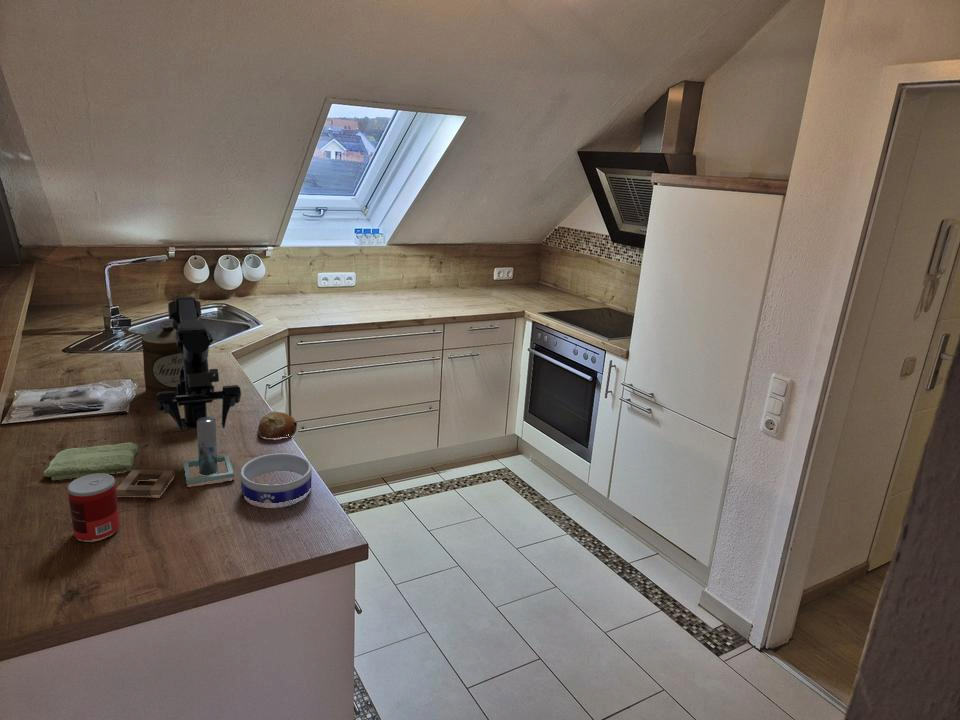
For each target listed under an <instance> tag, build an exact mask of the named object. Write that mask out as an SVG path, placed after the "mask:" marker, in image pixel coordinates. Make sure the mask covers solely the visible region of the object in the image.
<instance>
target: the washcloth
mask: <svg viewBox="0 0 960 720" xmlns="http://www.w3.org/2000/svg"><path fill="white" fill-rule="evenodd" d="M138 451H139V447H138V445H137V444H135V443H133V442H132V441H130V442H122V443H117V444H103V445H97V446H89V447H73V448H66V449H63V450H61V451H59V452H58V453H57V454H56V455H55V456H54V458H53V459H52V460H51V461H50V462H49V466H48V467H47V469H45V470H44V471H43V477H44V478H45V477H48V478H51V481H52V480H59V481H62V480H61V479H68V478H77V477H82V476H86V475H90V474H97V473H104V474H108V473H109V474H111V473H117V472H124V471H130V470H131V471H132V470H133V467H134V466H133V465H134V462H135V459H134V458H136V456H137V454H138ZM131 471H130V472H131Z"/></svg>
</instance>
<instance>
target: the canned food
mask: <svg viewBox="0 0 960 720" xmlns="http://www.w3.org/2000/svg"><path fill="white" fill-rule="evenodd" d="M116 489H117V486H116V480H115V477H114V476H113V475H109V474H104V473H97V474H90V475H86V476H82V477H80V478H77V479H73V480H71V482H70V483H69V484H68V486H67V493H68V494H67V495H68V501H69V502H68V503H69V508H70V515H71V516H70V517H71V523H72V531H73V535H74V537H75V539H76V538H78V539H81V540H92V539H98V538H102V537H105V536H107V535H109V534H111V533H113V532H114V531H116V530H117V529H118V530H119V528H118V527H120V523H121V522H120V517H119V506H118V498H117V494H116Z"/></svg>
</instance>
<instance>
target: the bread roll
mask: <svg viewBox="0 0 960 720" xmlns="http://www.w3.org/2000/svg"><path fill="white" fill-rule="evenodd" d="M257 427H258V428H257V429H258V430H257V433H258V435H259V437H260V436H262V437H266V438H278V437H279V438H280V437H289V436H290V437H289V438H291V437H292V436H294V435H295V434H296V432H297V427H298V423H297V421H296V419H295V418H294V417H293V416H291V415H289V414H288V413H285V412H280V411H275V410H271V411H269V412H267V413H266V414H264V415H263V416H262V417H261V419H260V420H259V424H258V426H257ZM288 434H289V436H288ZM286 435H287V436H286Z"/></svg>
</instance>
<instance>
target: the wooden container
mask: <svg viewBox="0 0 960 720" xmlns="http://www.w3.org/2000/svg"><path fill="white" fill-rule="evenodd" d="M176 332H178V331H177V330H176V329H174V328H173V326H172V322H164V323H163V324H162V325H161V329H156V330H151V331H148V332H146V333H144V334H143V335H141V346H142V357H143V376H144V377H143V378H144V384H145V385H144V388H145V395H146V396H147V398H149V399H151V400H155V401H157V394H158V393H159V392H163V391H175V395H177V384H180V381H179V376H180V372H181V370H184V367H183V358H182V350H181V349H180V347H177V344H176Z"/></svg>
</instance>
